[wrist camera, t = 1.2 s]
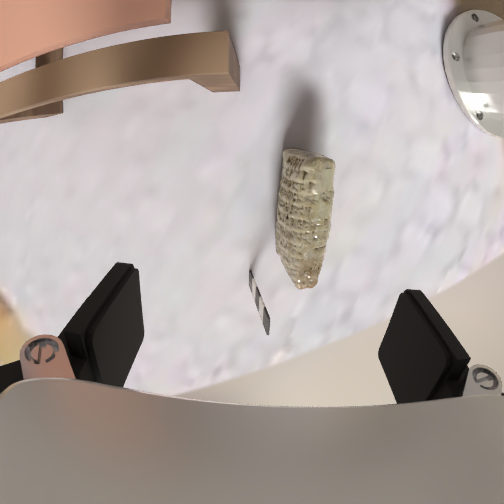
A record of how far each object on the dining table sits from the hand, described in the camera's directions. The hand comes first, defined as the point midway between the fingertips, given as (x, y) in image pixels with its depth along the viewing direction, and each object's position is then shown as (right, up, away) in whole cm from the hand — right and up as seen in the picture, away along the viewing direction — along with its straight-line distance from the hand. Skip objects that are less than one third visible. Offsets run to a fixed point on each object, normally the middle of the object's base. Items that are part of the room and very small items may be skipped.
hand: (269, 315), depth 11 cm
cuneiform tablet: (+2, +5, +15) cm, 16 cm away
